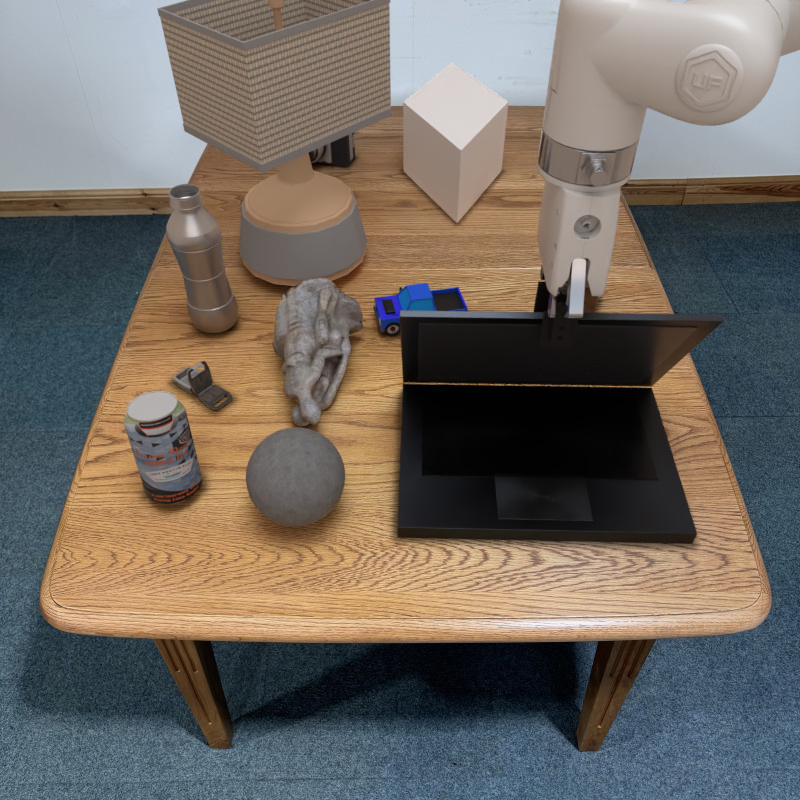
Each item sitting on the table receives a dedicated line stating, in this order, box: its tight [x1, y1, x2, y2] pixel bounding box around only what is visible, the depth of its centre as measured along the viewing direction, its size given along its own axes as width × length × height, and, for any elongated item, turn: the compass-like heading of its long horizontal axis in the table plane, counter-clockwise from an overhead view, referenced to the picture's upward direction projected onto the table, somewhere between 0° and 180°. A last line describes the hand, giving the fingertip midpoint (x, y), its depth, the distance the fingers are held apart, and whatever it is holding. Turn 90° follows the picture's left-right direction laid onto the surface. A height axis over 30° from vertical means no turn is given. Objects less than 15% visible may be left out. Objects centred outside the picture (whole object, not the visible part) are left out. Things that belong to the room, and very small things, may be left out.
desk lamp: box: [156, 0, 393, 287], centre depth 97 cm, size 22×19×37 cm
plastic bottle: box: [165, 183, 239, 334], centre depth 92 cm, size 6×7×20 cm
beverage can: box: [123, 390, 203, 505], centre depth 75 cm, size 6×7×12 cm
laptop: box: [397, 383, 698, 545], centre depth 81 cm, size 21×30×2 cm
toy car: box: [372, 282, 469, 337], centre depth 97 cm, size 7×12×5 cm, turn 101°
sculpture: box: [272, 278, 365, 427], centre depth 88 cm, size 11×18×12 cm
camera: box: [309, 132, 356, 168], centre depth 128 cm, size 14×8×10 cm, turn 73°
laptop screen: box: [399, 310, 724, 388], centre depth 77 cm, size 21×30×1 cm
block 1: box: [402, 61, 509, 224], centre depth 125 cm, size 18×35×12 cm, turn 179°
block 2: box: [583, 278, 600, 313], centre depth 100 cm, size 5×5×5 cm
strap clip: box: [172, 360, 233, 411], centre depth 88 cm, size 8×3×4 cm, turn 51°
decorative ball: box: [245, 426, 346, 527], centre depth 74 cm, size 10×10×10 cm
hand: (552, 328), depth 70 cm, fingers open, 3 cm apart
